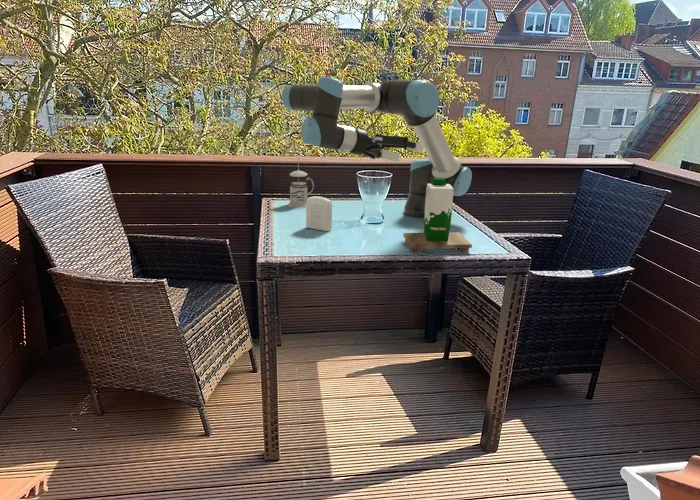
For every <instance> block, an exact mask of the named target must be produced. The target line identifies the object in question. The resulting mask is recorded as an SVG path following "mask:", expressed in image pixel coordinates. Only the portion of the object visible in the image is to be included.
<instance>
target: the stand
mask: <svg viewBox="0 0 700 500" xmlns="http://www.w3.org/2000/svg"><path fill="white" fill-rule="evenodd" d="M402 235H403V238H404V242H405V243H406V246H407V247H408V248H409V250H410V251H411V253H412V254H413V253H414V254H416V253H417V254H421V253H423V252H422V250H423V249H456V250H457V251H458V252H459V253H469V252H470V251H469V250H470V249H472V248H473V244H472V243H471V242H470V241H469V240H468V239H467V238H466V237H464V236H463V234H461V233H460V231H459V232H458V231H456V232H453V231H451V232H450V231H449V237H448V241H427V239H426V237H425V235H424V232H403V234H402Z"/></svg>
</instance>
